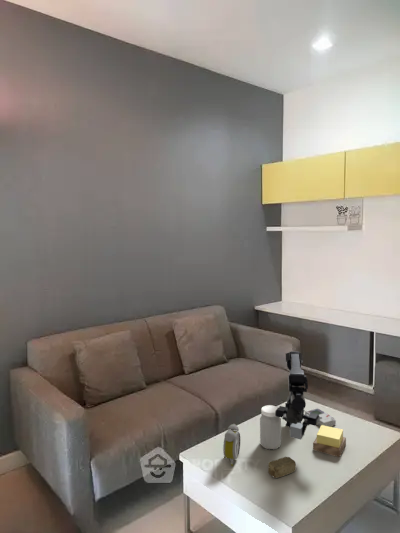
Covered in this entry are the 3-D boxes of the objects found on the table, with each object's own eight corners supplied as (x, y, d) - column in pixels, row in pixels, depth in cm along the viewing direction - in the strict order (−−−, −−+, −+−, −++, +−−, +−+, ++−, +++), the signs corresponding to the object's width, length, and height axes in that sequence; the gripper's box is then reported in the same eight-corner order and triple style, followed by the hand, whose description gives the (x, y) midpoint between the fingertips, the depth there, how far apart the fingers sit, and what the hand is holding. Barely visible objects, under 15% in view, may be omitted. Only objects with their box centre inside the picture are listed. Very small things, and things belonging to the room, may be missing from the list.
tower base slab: (313, 450, 188) (313, 442, 188) (320, 438, 198) (320, 431, 198) (339, 458, 182) (339, 449, 181) (345, 445, 192) (345, 437, 191)
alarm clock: (235, 468, 175) (234, 435, 174) (219, 465, 177) (219, 433, 176) (240, 453, 186) (240, 422, 185) (226, 451, 188) (226, 420, 187)
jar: (284, 443, 194) (284, 407, 192) (275, 453, 186) (275, 415, 184) (266, 437, 200) (265, 402, 198) (256, 446, 192) (256, 410, 190)
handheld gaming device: (323, 429, 207) (323, 422, 206) (304, 417, 220) (304, 410, 219) (337, 425, 210) (337, 418, 210) (317, 413, 224) (317, 407, 223)
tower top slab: (316, 442, 187) (316, 434, 187) (321, 432, 196) (321, 424, 196) (339, 447, 183) (339, 439, 182) (343, 437, 191) (343, 429, 191)
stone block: (296, 472, 172) (296, 461, 171) (275, 480, 167) (274, 469, 166) (288, 465, 177) (288, 454, 176) (266, 473, 172) (266, 462, 171)
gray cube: (289, 436, 181) (289, 426, 181) (293, 431, 185) (293, 421, 185) (300, 439, 178) (300, 428, 178) (304, 434, 183) (304, 424, 182)
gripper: (270, 402, 178) (270, 436, 180) (312, 412, 168) (312, 447, 170) (279, 393, 188) (279, 425, 189) (320, 401, 178) (319, 435, 179)
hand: (297, 433), depth 182 cm, fingers closed on gray cube, 5 cm apart
